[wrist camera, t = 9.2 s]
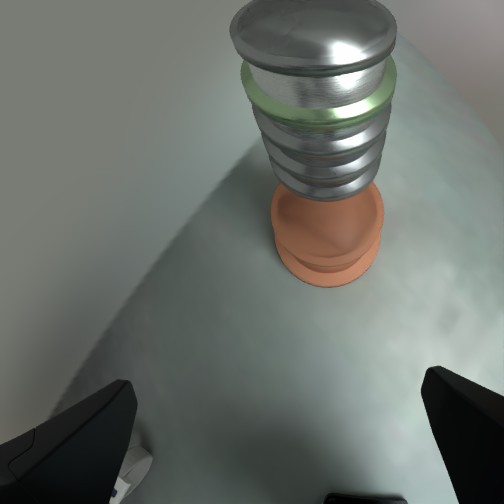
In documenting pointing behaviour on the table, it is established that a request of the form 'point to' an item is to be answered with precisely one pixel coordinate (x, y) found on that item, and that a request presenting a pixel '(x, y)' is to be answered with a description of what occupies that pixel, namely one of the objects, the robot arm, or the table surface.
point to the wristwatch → (131, 472)
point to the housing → (327, 235)
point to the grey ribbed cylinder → (319, 89)
